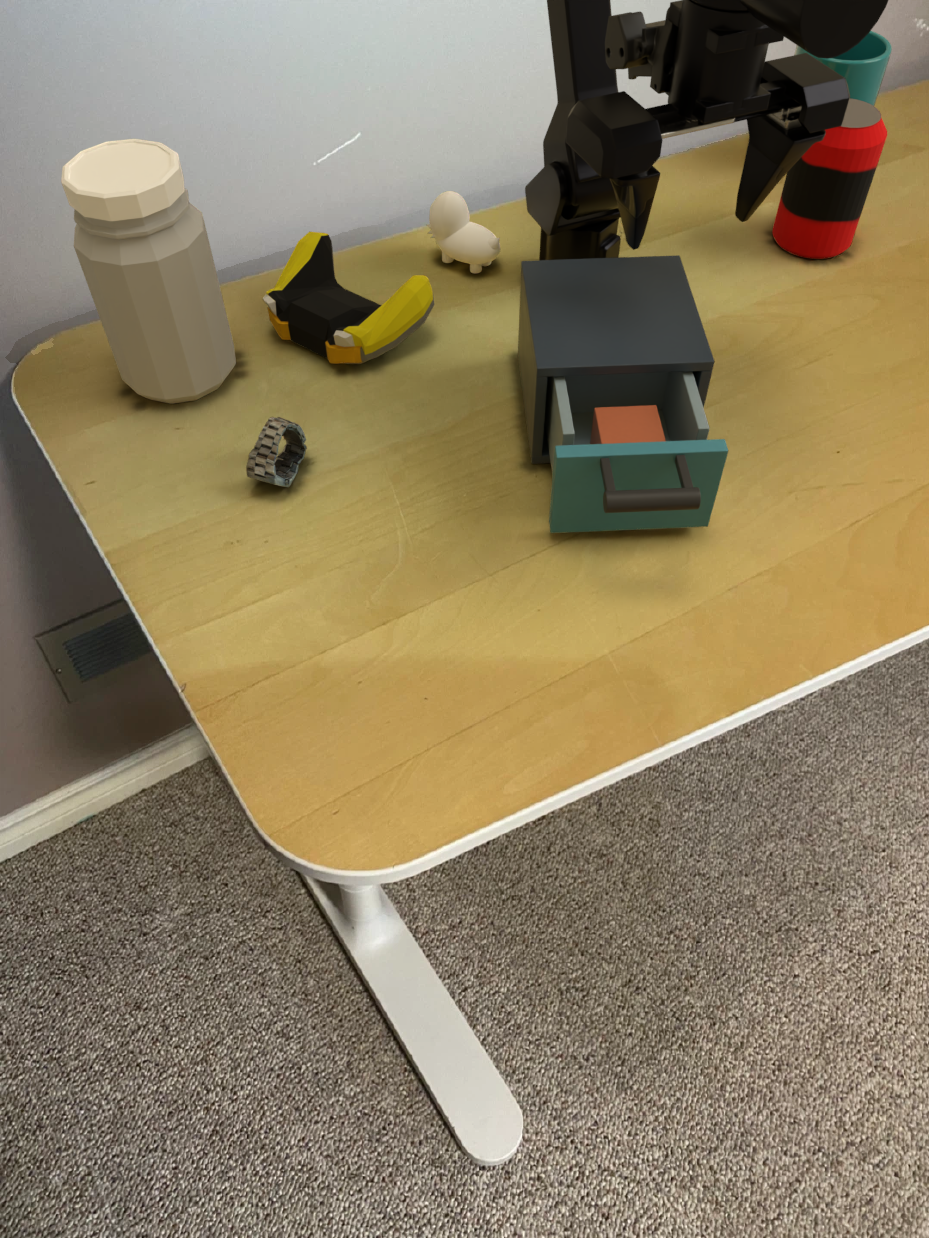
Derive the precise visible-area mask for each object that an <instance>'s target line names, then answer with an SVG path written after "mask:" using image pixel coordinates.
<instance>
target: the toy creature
mask: <svg viewBox="0 0 929 1238" xmlns="http://www.w3.org/2000/svg"><path fill="white" fill-rule="evenodd" d="M470 216H471V215H470V210H469V207H468V204H467V201H466V199H464V197H463V196H462V195H461V194H459V193H458V192H456V191H453V190H447V191H443V192H442V193H440V194H438V196H437V197H435V199H434V200H433V202H432V203H431V205H430V207H429V216H428V220H429V221H428V222H429V224H426V227H428V228H429V229H430V230H429V231H428V232H427V233H426V235H431V237H430V239H434V240H435V243H436V245H437V246H438V248H439V249H440V250H441V260H442V262H443V263H445V264H451V263H453V262H454V261H455V260H456V261H458V262H461V263H465V264H468V265H469V272H470V273H472V274H479V273H481V272H482V270H483V267H487V266H490V265H491V264H492V261H494V260H496V259H497V258H498V256H499V255H500V253H501V249H502V248H501V243H500V239H501V237H497V236H496V235H495V234H494V233H493V231H492V230H490V229H488V228H487V227H486V226H485V225H484V226H483V225H482V224H479V223H477V222H474V221H470V220H471V219H470Z"/></svg>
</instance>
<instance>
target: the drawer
mask: <svg viewBox="0 0 929 1238" xmlns="http://www.w3.org/2000/svg"><path fill="white" fill-rule="evenodd" d="M647 405H656V406H657V409H658V413H659V417H660V421H661V425H662V428H663V432H664V436H665V440H666V441H662V442H636V443H611V444H590V440H591V432H592V423H593V415H594V408H597V407H622V406H647ZM705 411H706V410H705V407H704V408H703V405H702V401H701V398H700V395H699V392H698V388H697V385H696V382H695V378H694V375H693V372H692V371H682V372H656V373H630V374H604V375H578V376H552V377H547V391H546V406H545V420H544V421H545V428H546V434H547V441H548V448H549V455H550V462H551V463H550V467H551V475H552V478H551V489H550V490H551V491H550V502H549V512H548V513H549V514H548V526H549V532H550V534H559V533H560V534H563V533H565V534H566V533H585V532H586V533H588V532H589V533H591V532H611V531H612V532H613V531H633V530H634V531H635V530H636V531H637V530H661V529H662V530H663V529H685V528H686V529H687V528H707V527H709V523H710V521H711V520H710V519H711V517H712V513H713V509H714V505H715V502H716V498H717V495H718V492H719V487H720V484H721V481H722V480H721V479H722V476H723V473H724V469H725V465H726V461H727V457H728V454H729V448H728V444H727V441H726V439H725V438H715V439H712V438H711V439H708V438H709V433H710V425H709V421H708V418H707V416H706V415H707V414H706V412H705Z"/></svg>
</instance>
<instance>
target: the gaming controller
mask: <svg viewBox="0 0 929 1238" xmlns="http://www.w3.org/2000/svg"><path fill="white" fill-rule="evenodd" d="M262 301H263V302H264V303H265V305H266V306H267V313H268V319H269V321H270V323H271V325H272V327H273V328H274V330H275V332H276V334H277V336H279V337H280V339H281V340H282V341H283V340H286V341H291V342H292V343H294V344H296V345H298V346H300V347H303V349H306V350H307V351H310V352H313V353H314V354H316V355H319V356H321V357H322V358H325V359H326V360H328V362H329V364H334V365H335V364H347V365H349V364H350V365H362V364H364V363H366V362H368V361H370V360H373V359H376V358H378V357H381V356H382V355H384V354H385V353H387V352H389V351H391V350H393V349H395V348H397V347H398V346H399V345H400V344H401V343H402V342H404V341H405V340H407V338H409V337H410V336H411V335H413V333H414V332H415V331H417V330H418V329H420V327H422V326H423V325H424V324H425V322H426V321H427V320H428V317H429V315H430V314H431V312H432V311H433V308H434V306H435V296H434V292H433V288H432V285H431V282H430V279H429V277H427V276H426V275H421V274H420V275H419V274H418V275H417V274H415V275H414V274H413V275H412V276H411V277H410V278H409V279H408V280H406V281H405V282H404V283H403V284H402V285H401V286H400V287H399V288H398V289H397V290H396V291H395V292H394V293H393V294H392V296H390V297H389V298H388V299H387V300H386V301H385V302H383V303H382V304H379V303H378V302H376V301H373V300H371V299H368V298H366V297H364V296H362V295H360V294H358V293H355V292H353V291H351V290H350V289H349V290H348V289H346V288H344V287H343V286H342V285H341V284H340V283H339V282H338V281H337V278H336V273H335V261H334V248H333V242H332V239H331V237H330V234H329V233H325V232H319V231H308V232H307V233H306V234H305V235H304V236H303V237H302V238H300V239H299V240H298V241H297V243H296V245H295V247H294V249H293V250H292V253H291V255H290V257H289V258H288V260H287V262H286V264H285V266H284V268H283V270H282V272H281V274H280V276H279V277H278V280H277V282H276V283H275V285H274V287H273V288H270V289H268V290H267V291H265V295H264V296H263V297H262Z"/></svg>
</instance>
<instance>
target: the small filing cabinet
mask: <svg viewBox="0 0 929 1238" xmlns="http://www.w3.org/2000/svg"><path fill="white" fill-rule="evenodd" d="M519 286H520V287H519V310H518V335H517V337H518V338H517V339H518V340H517V361H518V369H519V377H520V382H521V383H520V385H521V392H522V400H523V409H524V416H525V424H526V432H527V440H528V448H529V456H530V463H531V464H532V465H540V464H542V465H543V464H551V462H550V455H549V448H548V441H547V434H546V428H545V421H544V420H545V406H546V391H547V377H552V376H578V375H604V374H630V373H656V372H682V371H692V372H693V375H694V378H695V382H696V385H697V388H698V392H699V395H700V398H701V401H702V405H703V408H704V409H705V405H706V400H707V395H708V392H709V387H710V383H711V378H712V374H713V370H714V366H715V362H716V361H715V358H714V355H713V352H712V349H711V347H710V344H709V340H708V337H707V335H706V331H705V328H704V325H703V323H702V319H701V315H700V312H699V311H698V308H697V304H696V301H695V298H694V295H693V292H692V289H691V285H690V282H689V279H688V277H687V274H686V270H685V267H684V265H683V262H682V258H681V256H680V255H679V254H677V255H650V256H649V255H648V256H623V257H620V256H619V258H591V259H564V260H539V259H538V260H537V259H536V260H521V262H520V285H519Z"/></svg>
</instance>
